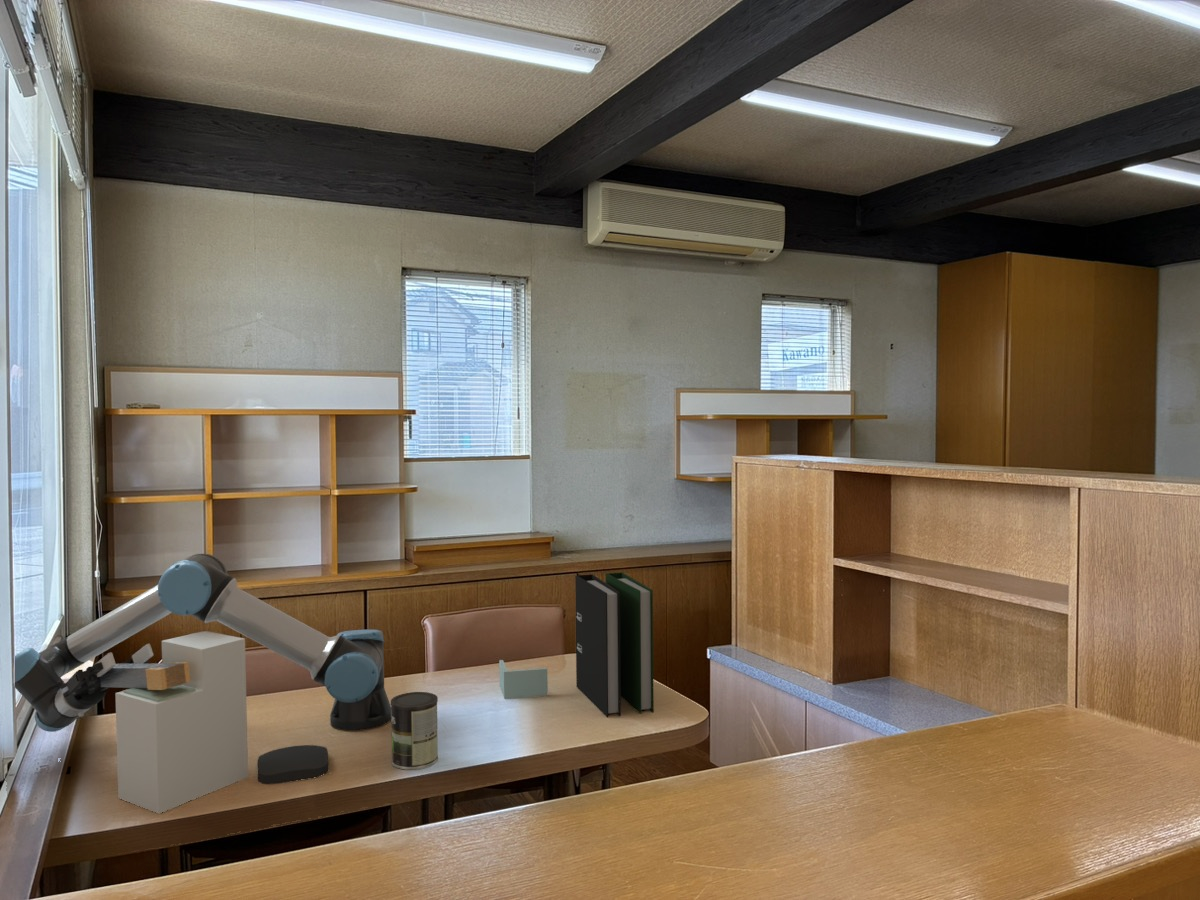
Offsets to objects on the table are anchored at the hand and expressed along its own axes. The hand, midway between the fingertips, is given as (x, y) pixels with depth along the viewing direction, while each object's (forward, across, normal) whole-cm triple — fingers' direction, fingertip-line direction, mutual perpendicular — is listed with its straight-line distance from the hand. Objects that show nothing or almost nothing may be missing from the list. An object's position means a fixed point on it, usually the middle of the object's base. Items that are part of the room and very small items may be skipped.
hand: (131, 654), depth 179 cm
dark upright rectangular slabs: (+37, -99, -54) cm, 118 cm away
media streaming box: (+4, -23, -35) cm, 42 cm away
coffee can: (+22, -40, -45) cm, 64 cm away
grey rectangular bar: (0, 0, -7) cm, 7 cm away
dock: (-5, -5, -29) cm, 30 cm away
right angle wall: (+14, -92, -41) cm, 102 cm away
